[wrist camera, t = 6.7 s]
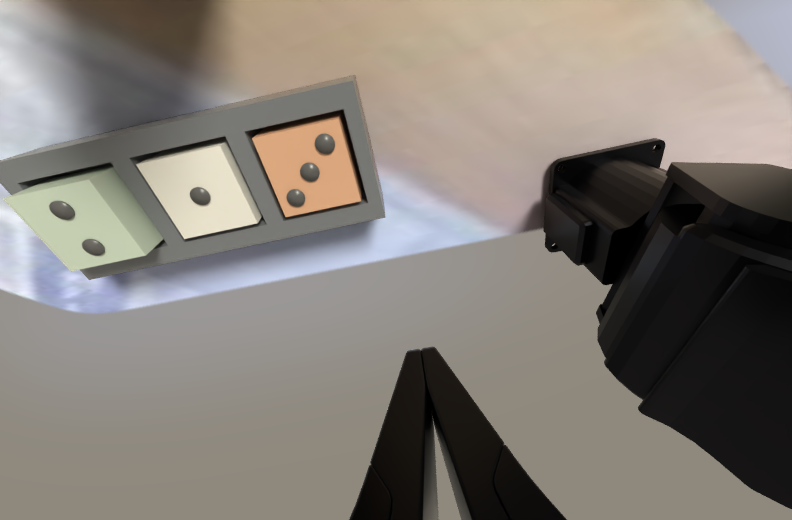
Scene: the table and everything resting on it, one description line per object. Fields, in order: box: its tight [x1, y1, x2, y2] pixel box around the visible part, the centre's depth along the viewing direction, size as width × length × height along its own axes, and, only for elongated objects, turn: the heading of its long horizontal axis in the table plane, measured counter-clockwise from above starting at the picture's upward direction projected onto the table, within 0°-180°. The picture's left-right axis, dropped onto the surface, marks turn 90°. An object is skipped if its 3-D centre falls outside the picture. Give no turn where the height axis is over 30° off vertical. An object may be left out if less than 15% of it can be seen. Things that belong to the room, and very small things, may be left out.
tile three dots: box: [252, 110, 362, 217], centre depth 17 cm, size 4×4×3 cm
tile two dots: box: [4, 165, 163, 271], centre depth 16 cm, size 4×4×3 cm
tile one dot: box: [136, 136, 262, 239], centre depth 17 cm, size 4×4×3 cm
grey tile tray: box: [0, 75, 385, 280], centre depth 17 cm, size 17×7×3 cm, turn 101°
